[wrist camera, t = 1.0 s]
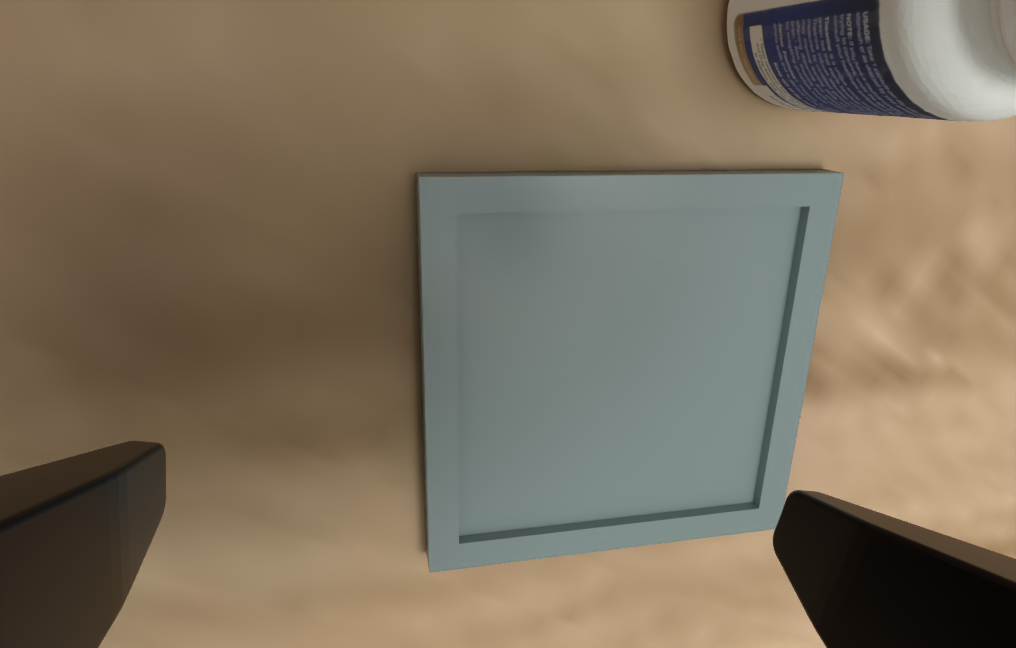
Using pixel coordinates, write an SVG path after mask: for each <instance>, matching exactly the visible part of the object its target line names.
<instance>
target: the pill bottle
mask: <svg viewBox="0 0 1016 648" xmlns="http://www.w3.org/2000/svg"><path fill="white" fill-rule="evenodd" d="M727 38H728V45H729V50H730V53H731V55H732V59H733V62H734V64H735V67H736V69H737V71H738V73H739V75H740V76H741V78H742V79H743V81H744V82H745V83H746V84H747V85H748V86H749V87H750V88H751V90H752V91H753V92H754V93H755V94H757V95H758V96H760V97H761V98H763V99H764V100H766V101H768V102H770V103H772V104H775V105H777V106H780V107H784V108H788V109H796V110H804V111H812V112H816V111H819V112H835V113H849V114H863V115H878V116H899V117H911V118H925V119H938V120H951V121H993V120H999V119H1005V118H1009V117H1013V116H1016V0H729V4H728V11H727Z"/></svg>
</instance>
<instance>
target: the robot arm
mask: <svg viewBox="0 0 1016 648" xmlns="http://www.w3.org/2000/svg"><path fill="white" fill-rule="evenodd" d="M165 502H166V454H165V449H164V447H163V445H162V444H160V443H157V442H143V441H128V442H124V443H120V444H117V445H113V446H109V447H106V448H102V449H98V450H95V451H91V452H87V453H84V454H80V455H76V456H73V457H69V458H65V459H61V460H58V461H54V462H50V463H47V464H43V465H39V466H36V467H32V468H28V469H25V470H21V471H17V472H14V473H10V474H6V475H3V476H0V648H98V647H99V645H100V644H101V642H102V640H103V639H104V637H105V635H106V634H107V632H108V630H109V629H110V627H111V625H112V624H113V622H114V620H115V619H116V617H117V615H118V613H119V611H120V610H121V608H122V606H123V604H124V602H125V600H126V598H127V596H128V594H129V591H130V589H131V587H132V585H133V582H134V580H135V578H136V575H137V573H138V571H139V569H140V566H141V564H142V562H143V559H144V557H145V555H146V553H147V550H148V548H149V546H150V543H151V541H152V539H153V537H154V534H155V532H156V530H157V527H158V525H159V523H160V521H161V518H162V515H163V512H164V508H165ZM773 546H774V551H775V553H776V556H777V557H778V559H779V561H780V563H781V565H782V567H783V569H784V571H785V573H786V575H787V577H788V579H789V581H790V582H791V584H792V586H793V588H794V590H795V592H796V594H797V596H798V598H799V600H800V602H801V604H802V606H803V607H804V609H805V611H806V613H807V615H808V617H809V619H810V621H811V622H812V624H813V626H814V628H815V630H816V631H817V633H818V635H819V636H820V638H821V639H822V641H823V643H824V644H825V646H826V647H827V648H1016V559H1014V558H1011V557H1008V556H1005V555H1002V554H999V553H996V552H993V551H990V550H988V549H985V548H982V547H979V546H976V545H973V544H970V543H967V542H964V541H961V540H958V539H955V538H952V537H949V536H946V535H943V534H940V533H938V532H935V531H932V530H929V529H926V528H923V527H920V526H917V525H914V524H911V523H908V522H905V521H902V520H899V519H896V518H893V517H890V516H888V515H885V514H882V513H879V512H876V511H873V510H870V509H867V508H864V507H861V506H858V505H855V504H852V503H849V502H846V501H843V500H840V499H838V498H835V497H832V496H829V495H826V494H823V493H820V492H814V491H802V490H796V491H793V492H792V493H790V494H789V496H788V497H787V499H786V502H785V504H784V507H783V510H782V512H781V515H780V518H779V520H778V523H777V526H776V528H775V531H774V535H773Z"/></svg>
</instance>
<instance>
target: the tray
mask: <svg viewBox="0 0 1016 648" xmlns="http://www.w3.org/2000/svg"><path fill="white" fill-rule="evenodd" d="M843 178H844V173H840V172H835V171H830V170H825V169H797V170H675V171H552V172H430V173H416V184H417V220H418V256H419V293H420V329H421V365H422V401H423V438H424V474H425V510H426V546H427V559H428V566H429V572H437V571H445V570H453V569H461V568H469V567H477V566H485V565H493V564H501V563H509V562H516V561H524V560H532V559H540V558H548V557H556V556H564V555H572V554H580V553H588V552H596V551H604V550H612V549H620V548H628V547H636V546H644V545H652V544H660V543H668V542H676V541H684V540H692V539H700V538H708V537H716V536H724V535H732V534H740V533H748V532H756V531H764V530H771V529H775V528H776V526H777V523H778V520H779V518H780V515H781V512H782V510H783V507H784V501H785V496H786V490H787V485H788V480H789V474H790V469H791V463H792V458H793V452H794V447H795V441H796V436H797V430H798V425H799V419H800V414H801V408H802V403H803V397H804V392H805V386H806V381H807V375H808V370H809V364H810V359H811V353H812V348H813V342H814V337H815V332H816V326H817V321H818V315H819V310H820V304H821V299H822V293H823V288H824V282H825V277H826V271H827V266H828V260H829V255H830V249H831V244H832V238H833V233H834V227H835V222H836V216H837V211H838V205H839V200H840V195H841V189H842V184H843Z"/></svg>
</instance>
